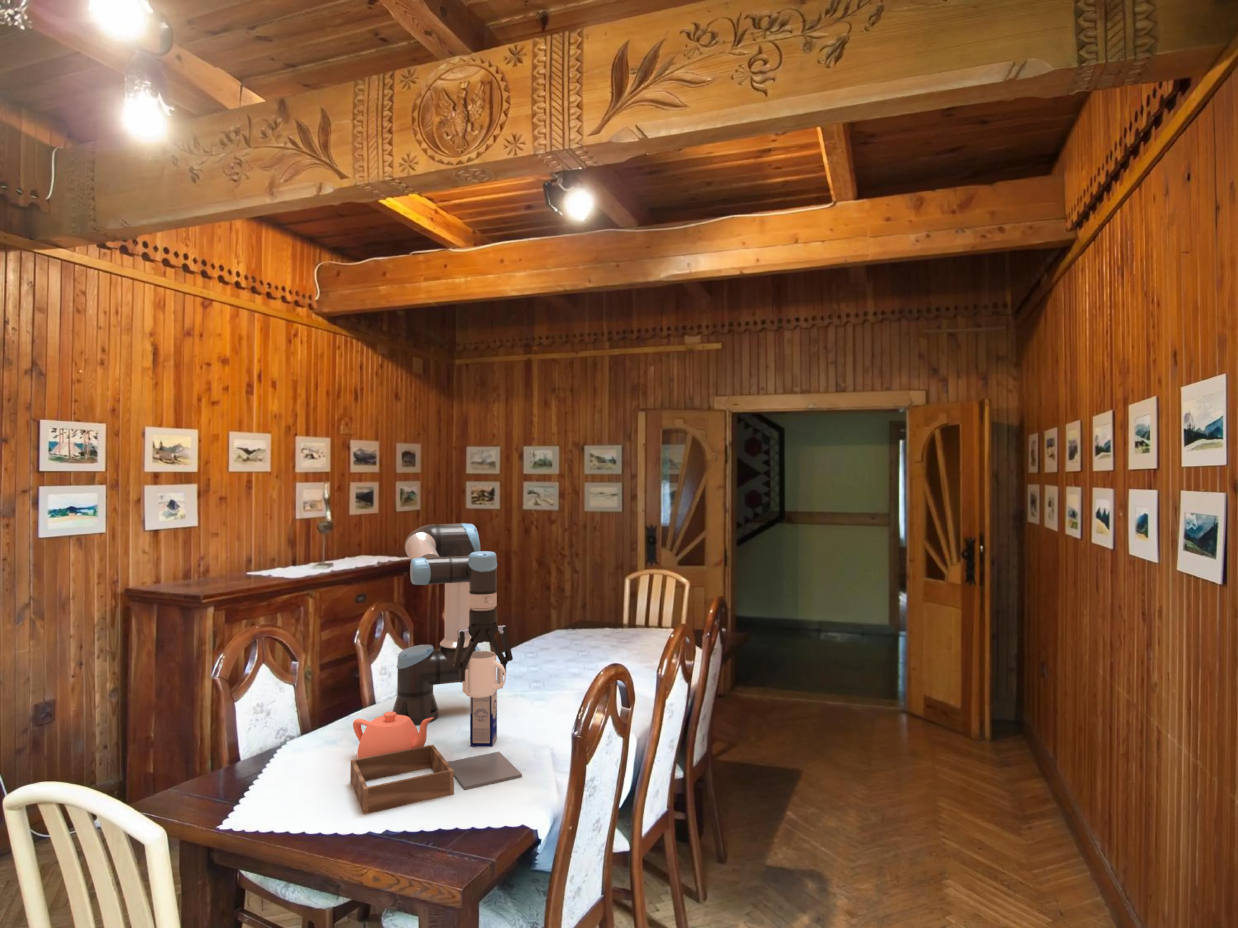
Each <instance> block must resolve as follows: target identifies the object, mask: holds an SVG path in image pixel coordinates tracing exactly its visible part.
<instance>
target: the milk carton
mask: <svg viewBox="0 0 1238 928" xmlns="http://www.w3.org/2000/svg"><path fill="white" fill-rule="evenodd" d="M496 683H497V679H496ZM469 700H470V701H469V715H470V716H469V747H472V748H473V747H477V748H478V747H481V748H482V747H484V748H488V747H489V748H492V747H493V746H494V745H495V743H496V741H497V739H498V717H497V716H498V690H496V692H495V693H494V694H493V695H491V696H488V697H483V698H473V697H469Z"/></svg>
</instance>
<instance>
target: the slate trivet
mask: <svg viewBox="0 0 1238 928" xmlns="http://www.w3.org/2000/svg"><path fill="white" fill-rule="evenodd" d="M447 763H448V764H449V765H450V766H451V768H452V769H453V770H454V780H456V782H457V783H458V785H460V787H461V788H462V789H463V791H465V790H470V789H471V790H472V789H475V788H479V787H484V786H488V785H492V784H493V785H494V784H497V783H498V784H499V783H501V782H503V783H504V782H507V781H511V780H516V779H520V778H523V774H522V773H521V772H520V771H519V770H518V768H516V767H515V766H514V764H512V762H510V761H509V759H507V757H505V756H504V755H503V753H502V752H501V751H494V752H490V753H489V752H488V753H485V754H480V755H475V756H470V757H464V758H461V759H455V760H449V761H447Z"/></svg>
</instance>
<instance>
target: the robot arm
mask: <svg viewBox="0 0 1238 928" xmlns="http://www.w3.org/2000/svg"><path fill="white" fill-rule="evenodd" d="M479 536H480V535H479V532H478V529H477V527H476V525H474V524H473V523H464V522H463V523H462V522H461V523H459V522H458V523H440V524H437V523H436V524H434V523H433V524H426V525H423V526H420V527H418V528H416V529H415V530H413V531H411V533H409V535H408V536H407V537H406V539H405V541H404V551H405V553H406V555H407V557H408V558H410V565H409V566H410V567H409V568H410V569H409V574H410V582H411V584H412V585H414V586H415V585H418V586H419V585H420V586H421V585H422V586H426V585H439V584H440V585H441V584H442V585H443V584H444V637H443V639H442V640H441V641H440V642H439V648H436V649H435V648H434V646H433V644H418V645H413V646H410V647H407V648H405V649H403V650H401V651H400V652H399V653H398V655H397V664H396V669H397V672H396V673H397V685H396V690H397V691H396V693H397V695H396V699H395V702H394V705H393V708H392V710H391V712H396V715H404V716H408V717H409V718H410V719H411V720H412V721H413V723H414V725H415V726H418V725H421V723H422V721H423V720H425V719H427V718H432V717H434V718H433V719H432V720H431V721H430V722H429V723H431V722H434V721H435V720H437V718H439V715H440V714H439V707H438V704H437V700H436V697H435V695H434V686H435V685H436V686H437V685H445V684H446V685H447V684H456V683H457V684H458V683H462V693H464V694H465V695H466V694H468V669H467V668H466V666H467V664H468V662H469V660H470V657H471V655H472V653H473V652H476V651H480V647H479V646H478V644H482V643H490V645H491V647H492V649H493V652H494V653H496V658H497V659H498V660H499V663H501V664H502V666H503V667H504V669H505V672H506V673H507V664H508V663H510V662H512V661H513V660H514V657H513V653H512V649H511V646H510V645H511V644H510V641H509V637H508V631H509V627H508V626H506V625H504V624H502V625H498V623H497V622H498V621H497V619H498V615H497V613H498V611H497V608H496V607H497V606H498V605H497V604H498V603H497V599H498V598H497V597H498V596H497V595H498V591H497V588H498V587H497V586H498V585H497V579H498V577H497V574H498V573H497V572H498V571H497V570H498V569H497V567H498V562H497V561H498V559H497V553H496V552H495V551H489V550H488V551H487V550H484V551H483V550H482V551H481V542H480V537H479ZM497 632H498V633H499V634H500V639H501V642H502V648H503V650H504V651H503V652H504V653H503V652H502V650H501V647H500V646H499V644H498V641H497V639H496V637H495V636H496V633H497ZM496 680H497V684H501V683H502V682H503V681H504V673H503V671H502V670H501V669H499V668H497V667H496ZM500 689H504V686H503V687H502V688H500ZM500 689H499V690H500Z"/></svg>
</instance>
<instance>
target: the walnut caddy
mask: <svg viewBox="0 0 1238 928" xmlns="http://www.w3.org/2000/svg"><path fill="white" fill-rule="evenodd" d="M447 762H448V761H447V760H446V758H445V757H444V756H443V754H441V752H440V751H439V750H438V748H437V747H436V746H435V745H434V744H430V745H424V746H423V747H418V748H412V749H407V750H402V751H396V752H391V753H385V754H380V755H375V756H369V757H364V758H359V759H358V758H354V759H351V760H350V774H349V775H350V783H349V784H350V785H351V787H352V790H353V792H354V794H355V797H356V799H357V801H358V803H359V806H360V808H361V809H360V810H361V811H362V813H363V815H367V814H370V813H375V812H381V811H385V810H389V809H393V808H398V807H402V806H407V805H412V804H416V803H421V802H425V801H429V800H433V799H437V798H443V797H447V796H451V795H454V793H455V778H454V770H453V769H452V768H451V766H450V765H449V764H448V763H447ZM428 769H430V770H431V771H432V772H433V773H428V774H422V775H418V776H414V777H408V778H404V779H399V780H394V781H389V782H384V783H380V784H375V785H374V784H373V785H367V783H366V782H368V781H374V780H378V779H379V780H380V779H383V778H389V777H393V776H398V775H403V774H408V773H412V772H413V773H415V772H417V771H423V770H428Z"/></svg>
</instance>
